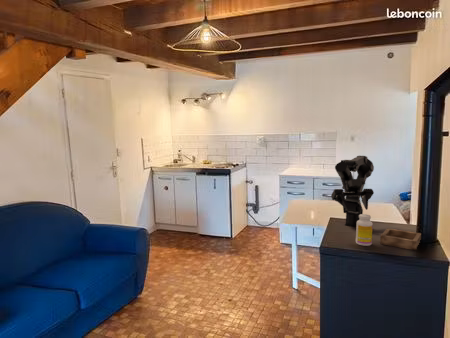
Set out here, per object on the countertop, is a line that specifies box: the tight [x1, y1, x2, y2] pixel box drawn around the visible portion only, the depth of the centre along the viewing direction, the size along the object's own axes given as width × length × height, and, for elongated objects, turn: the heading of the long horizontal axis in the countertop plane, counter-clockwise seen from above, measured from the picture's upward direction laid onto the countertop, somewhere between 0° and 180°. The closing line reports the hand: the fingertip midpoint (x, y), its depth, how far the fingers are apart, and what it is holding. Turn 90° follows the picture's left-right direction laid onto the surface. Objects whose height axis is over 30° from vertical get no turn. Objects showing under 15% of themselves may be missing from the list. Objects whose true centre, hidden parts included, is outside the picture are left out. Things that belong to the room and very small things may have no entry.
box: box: [380, 228, 422, 251], centre depth 156 cm, size 14×14×4 cm
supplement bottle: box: [355, 213, 374, 247], centre depth 155 cm, size 7×7×13 cm
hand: (357, 209), depth 162 cm, fingers open, 9 cm apart
